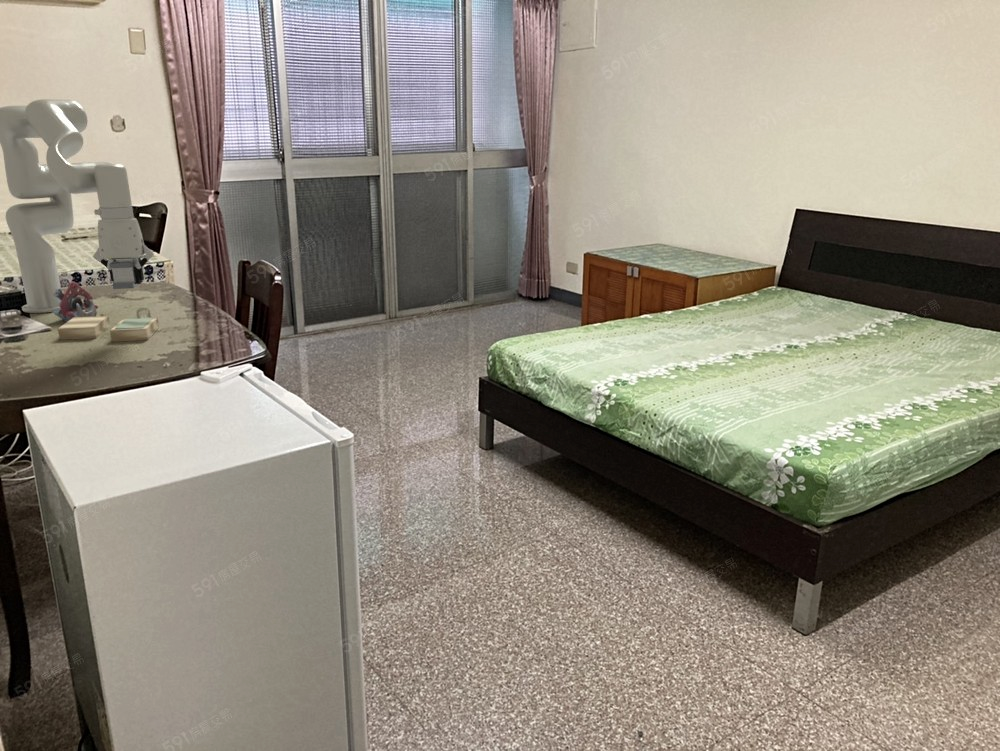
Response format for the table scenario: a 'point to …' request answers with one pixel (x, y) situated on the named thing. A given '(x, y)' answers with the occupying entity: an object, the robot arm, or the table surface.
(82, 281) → the table surface
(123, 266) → the block
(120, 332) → the stand
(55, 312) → the motor mount assembly
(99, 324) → the stand
